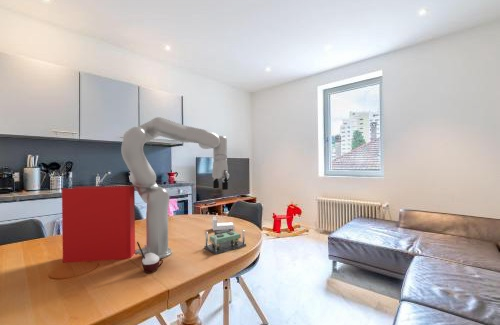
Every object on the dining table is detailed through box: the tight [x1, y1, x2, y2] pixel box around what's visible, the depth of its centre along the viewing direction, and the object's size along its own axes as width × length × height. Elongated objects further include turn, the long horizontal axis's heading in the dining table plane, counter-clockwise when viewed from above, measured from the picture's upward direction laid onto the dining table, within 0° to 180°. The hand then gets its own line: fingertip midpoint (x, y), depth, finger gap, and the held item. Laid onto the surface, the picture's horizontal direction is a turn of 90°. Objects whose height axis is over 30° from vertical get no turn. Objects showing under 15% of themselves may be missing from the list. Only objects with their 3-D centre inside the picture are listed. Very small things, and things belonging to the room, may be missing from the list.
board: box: [209, 230, 242, 244], centre depth 117 cm, size 14×7×3 cm, turn 127°
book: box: [61, 185, 136, 263], centre depth 105 cm, size 27×8×32 cm, turn 97°
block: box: [214, 229, 231, 235], centre depth 131 cm, size 8×4×4 cm, turn 128°
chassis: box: [203, 225, 247, 255], centre depth 117 cm, size 18×11×8 cm, turn 128°
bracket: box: [211, 216, 235, 231], centre depth 149 cm, size 13×7×8 cm, turn 103°
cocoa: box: [136, 241, 164, 274], centre depth 92 cm, size 10×6×12 cm, turn 101°
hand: (220, 188), depth 129 cm, fingers open, 9 cm apart
